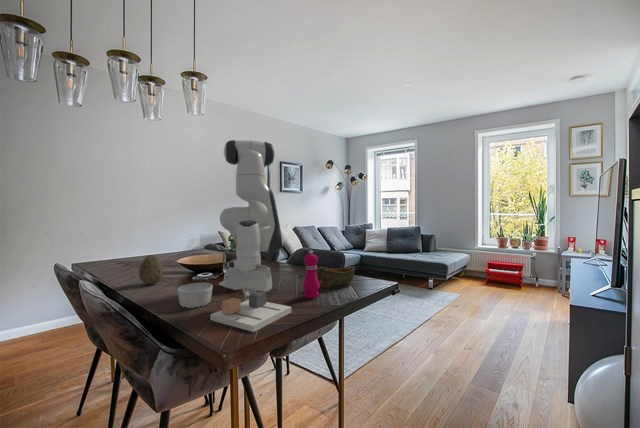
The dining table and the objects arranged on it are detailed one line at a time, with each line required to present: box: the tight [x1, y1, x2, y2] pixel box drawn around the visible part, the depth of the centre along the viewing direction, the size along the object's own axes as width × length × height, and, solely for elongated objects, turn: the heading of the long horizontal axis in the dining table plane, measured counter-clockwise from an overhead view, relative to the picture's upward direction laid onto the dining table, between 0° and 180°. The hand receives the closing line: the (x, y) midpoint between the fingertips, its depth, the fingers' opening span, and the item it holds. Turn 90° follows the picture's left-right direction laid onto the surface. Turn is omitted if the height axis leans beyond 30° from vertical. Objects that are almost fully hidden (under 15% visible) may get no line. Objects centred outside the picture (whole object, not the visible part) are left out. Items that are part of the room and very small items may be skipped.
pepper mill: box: [302, 249, 321, 299], centre depth 130 cm, size 7×7×20 cm
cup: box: [316, 266, 355, 290], centre depth 146 cm, size 13×20×10 cm, turn 87°
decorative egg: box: [138, 254, 164, 285], centre depth 154 cm, size 11×11×15 cm
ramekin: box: [177, 282, 213, 309], centre depth 122 cm, size 13×13×7 cm
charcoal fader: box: [249, 291, 267, 308], centre depth 113 cm, size 4×5×4 cm
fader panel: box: [209, 300, 293, 333], centre depth 107 cm, size 20×20×2 cm
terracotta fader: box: [221, 297, 242, 315], centre depth 106 cm, size 4×5×4 cm
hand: (249, 299), depth 114 cm, fingers closed
